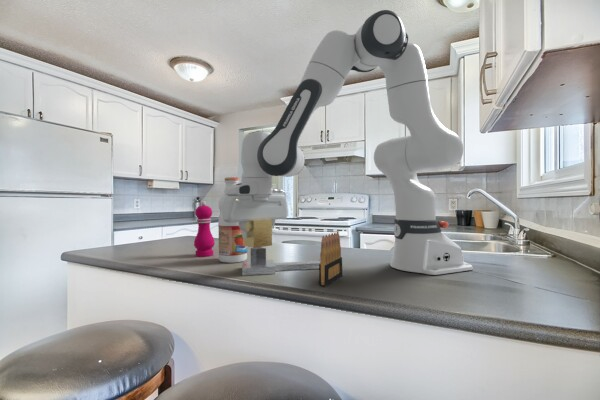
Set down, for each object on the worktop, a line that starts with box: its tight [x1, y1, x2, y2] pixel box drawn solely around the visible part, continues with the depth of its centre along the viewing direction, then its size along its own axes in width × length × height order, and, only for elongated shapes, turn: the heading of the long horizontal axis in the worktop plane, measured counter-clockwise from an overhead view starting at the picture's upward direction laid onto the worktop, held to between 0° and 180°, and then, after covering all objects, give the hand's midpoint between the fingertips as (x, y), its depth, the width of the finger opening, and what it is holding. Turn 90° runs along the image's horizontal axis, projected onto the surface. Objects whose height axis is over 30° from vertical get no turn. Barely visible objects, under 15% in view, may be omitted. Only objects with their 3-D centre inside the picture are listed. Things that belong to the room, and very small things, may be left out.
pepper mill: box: [193, 200, 215, 258], centre depth 109 cm, size 7×7×20 cm
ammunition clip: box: [318, 231, 343, 287], centre depth 75 cm, size 11×2×12 cm, turn 150°
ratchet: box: [241, 247, 320, 276], centre depth 88 cm, size 27×9×6 cm, turn 100°
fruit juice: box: [217, 176, 248, 264], centre depth 100 cm, size 9×9×28 cm
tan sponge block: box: [243, 219, 273, 248], centre depth 86 cm, size 6×6×8 cm
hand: (257, 236), depth 86 cm, fingers closed on tan sponge block, 6 cm apart
